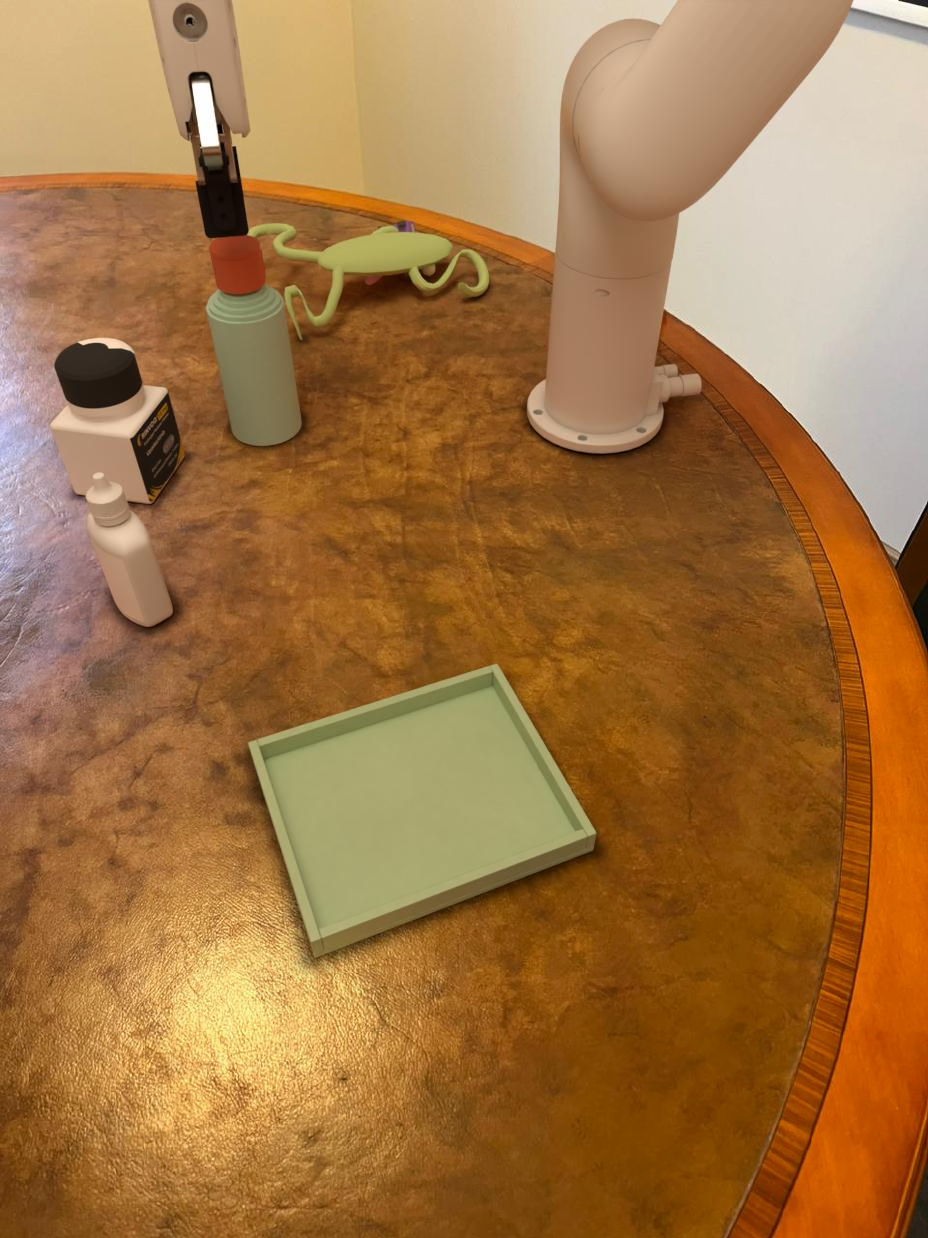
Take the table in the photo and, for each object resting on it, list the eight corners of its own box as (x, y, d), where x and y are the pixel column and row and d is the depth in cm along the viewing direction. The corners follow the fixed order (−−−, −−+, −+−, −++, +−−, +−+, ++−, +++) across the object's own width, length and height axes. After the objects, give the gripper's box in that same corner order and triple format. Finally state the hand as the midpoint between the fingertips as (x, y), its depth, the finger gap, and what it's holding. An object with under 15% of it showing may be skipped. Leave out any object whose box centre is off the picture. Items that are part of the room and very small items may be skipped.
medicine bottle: (152, 506, 78) (113, 380, 69) (74, 495, 79) (25, 369, 70) (187, 456, 82) (154, 332, 74) (112, 446, 83) (71, 323, 75)
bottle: (298, 402, 88) (272, 230, 77) (305, 441, 84) (279, 264, 72) (230, 410, 87) (193, 237, 76) (233, 450, 83) (195, 273, 71)
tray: (496, 681, 64) (497, 662, 63) (593, 850, 55) (597, 833, 54) (252, 760, 60) (247, 742, 58) (314, 958, 51) (310, 942, 49)
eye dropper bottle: (113, 636, 67) (61, 507, 59) (113, 584, 71) (65, 455, 62) (175, 625, 68) (132, 496, 59) (172, 574, 72) (132, 446, 63)
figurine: (223, 274, 107) (214, 225, 103) (435, 231, 115) (434, 184, 111) (271, 349, 95) (263, 298, 91) (503, 295, 103) (505, 246, 99)
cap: (264, 269, 77) (258, 231, 75) (268, 291, 75) (262, 253, 72) (215, 274, 77) (208, 236, 75) (217, 296, 74) (209, 258, 72)
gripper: (244, -41, 54) (284, 263, 67) (230, -96, 65) (266, 172, 78) (110, -36, 53) (177, 272, 66) (119, -93, 64) (175, 178, 77)
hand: (225, 215), depth 72 cm, fingers open, 5 cm apart
